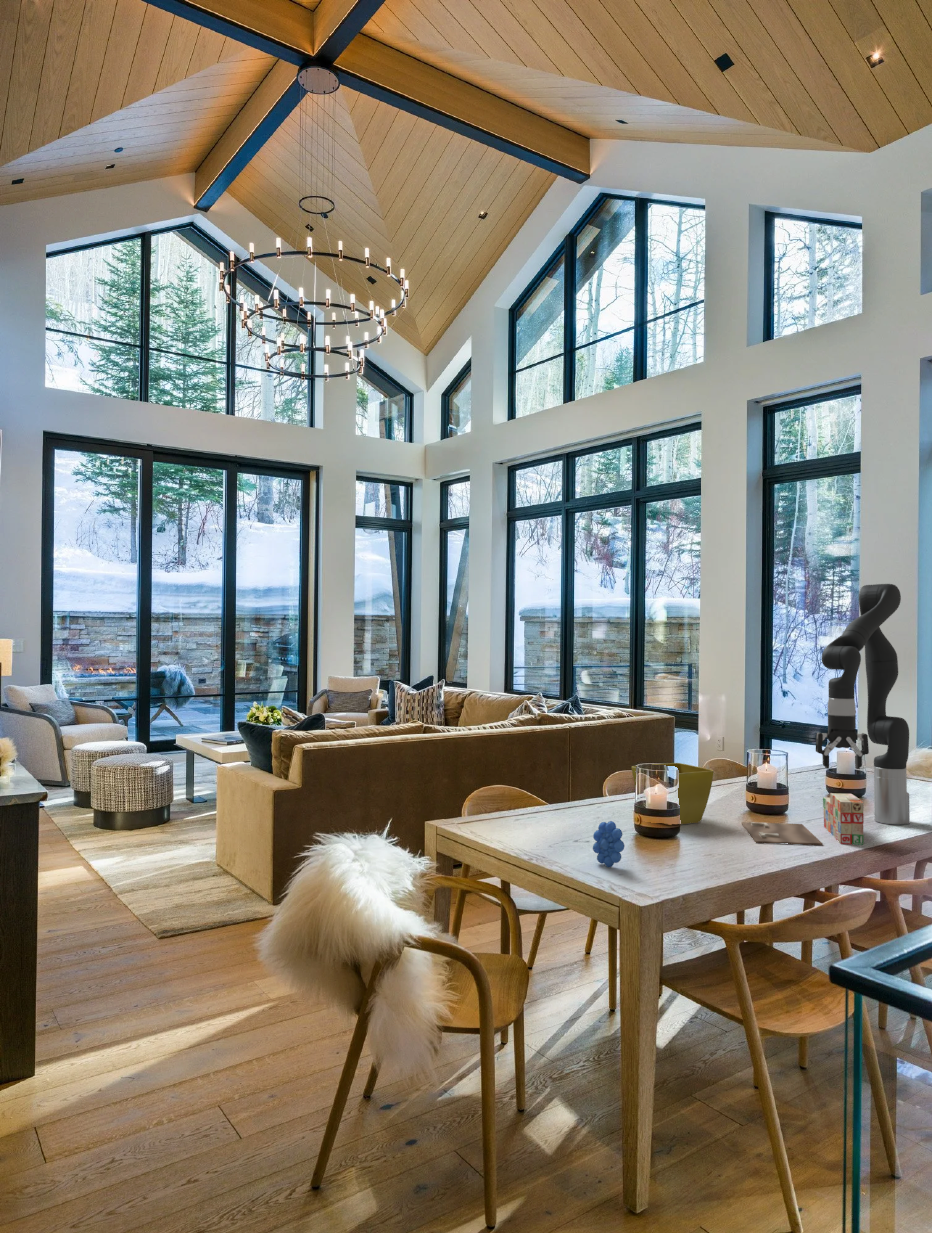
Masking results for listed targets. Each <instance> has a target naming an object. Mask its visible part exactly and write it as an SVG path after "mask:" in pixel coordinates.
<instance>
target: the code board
mask: <svg viewBox="0 0 932 1233" xmlns="http://www.w3.org/2000/svg"><path fill="white" fill-rule="evenodd" d="M741 825H742V826H743V828H744V829H745V831H746V830H747V831H746V832H747V833H748V835H749V834H750V835H749V836H750V837H751V839H752V838H753V839H752V841H754V843H755V842H756V843H755V844H764V843H788V844H787V845H793V844H803V845H802V846H824V845H823V842H822V841H821V840H820V839H818V838H817V837H816V836H815V834H813V833H812V832H811V831H810V830H809V829H808V828H807V827H806V826H804V824H802V823H785V822H784V823H782V822H781V823H779V822H778V823H777V822H754V821H753V822H750V821H749V822H748V821H747V822H746V821H744V822H743V821H741Z"/></svg>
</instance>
